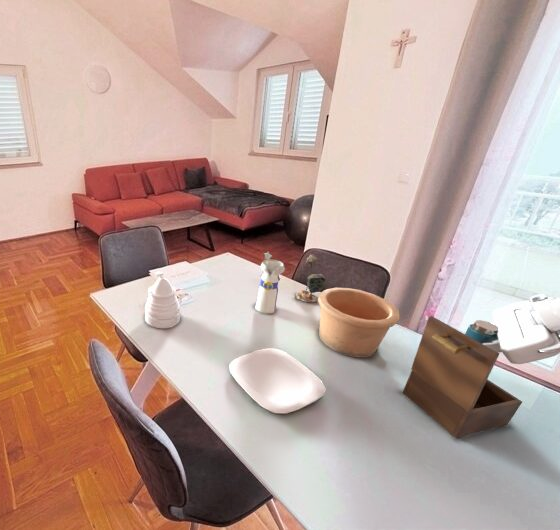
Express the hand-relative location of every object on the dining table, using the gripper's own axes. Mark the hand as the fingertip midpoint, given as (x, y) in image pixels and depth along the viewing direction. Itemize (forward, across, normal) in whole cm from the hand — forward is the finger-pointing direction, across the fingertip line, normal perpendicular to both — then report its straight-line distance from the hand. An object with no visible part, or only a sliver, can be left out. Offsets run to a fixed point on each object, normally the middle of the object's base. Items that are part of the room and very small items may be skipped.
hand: (474, 341), depth 74 cm
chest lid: (+4, -8, +1) cm, 9 cm away
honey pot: (+71, -18, +44) cm, 85 cm away
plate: (+40, -22, +12) cm, 47 cm away
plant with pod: (+44, +32, +17) cm, 57 cm away
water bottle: (+52, +13, +25) cm, 59 cm away
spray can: (+4, 0, -5) cm, 6 cm away
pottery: (+31, +11, +4) cm, 33 cm away
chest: (+12, -2, -14) cm, 19 cm away
